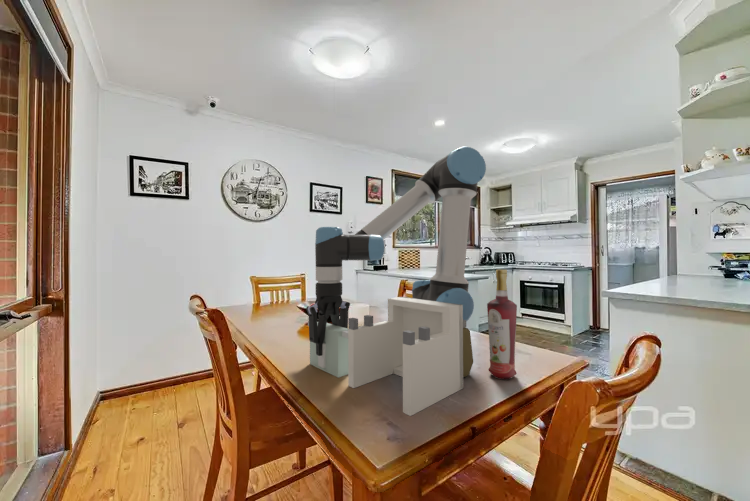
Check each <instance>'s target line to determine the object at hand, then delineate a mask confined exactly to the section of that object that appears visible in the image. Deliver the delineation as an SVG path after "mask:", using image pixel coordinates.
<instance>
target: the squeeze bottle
mask: <svg viewBox="0 0 750 501" xmlns="http://www.w3.org/2000/svg"><path fill="white" fill-rule="evenodd" d="M471 337H472V336H471V331H470V329H469V328H467V321H466V320H463V378H465V377H468V376H469V375H470V374H471V370H472V368H473V364H474V356H473V355H474V354H473V347H472V345H473V344H472V338H471Z"/></svg>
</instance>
